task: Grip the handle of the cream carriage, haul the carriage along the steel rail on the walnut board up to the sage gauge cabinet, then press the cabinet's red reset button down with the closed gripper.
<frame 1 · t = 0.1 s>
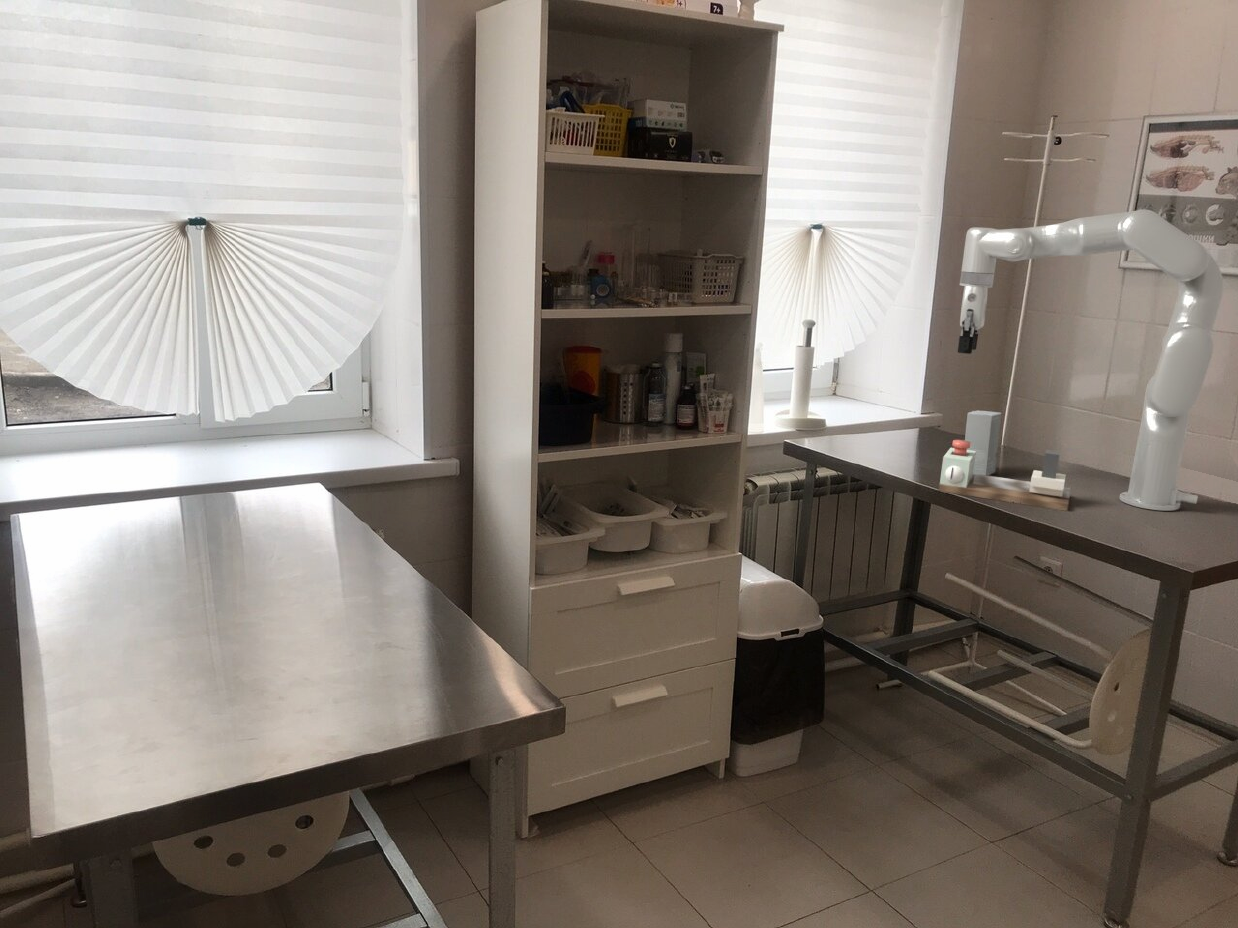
hand: (966, 351, 242), 31 cm above the table, tool pointing down, fingers open, 9 cm apart
skincare box: (977, 473, 253), on the table
walnut rail board: (1003, 493, 234), on the table
sage gauge cabinet: (955, 486, 238), resting on walnut rail board
cream carriage: (1049, 472, 228), point 7 cm above the table, slide at 0.0 cm
red reset button: (960, 448, 236), point 9 cm above the table, slide at 0.0 cm
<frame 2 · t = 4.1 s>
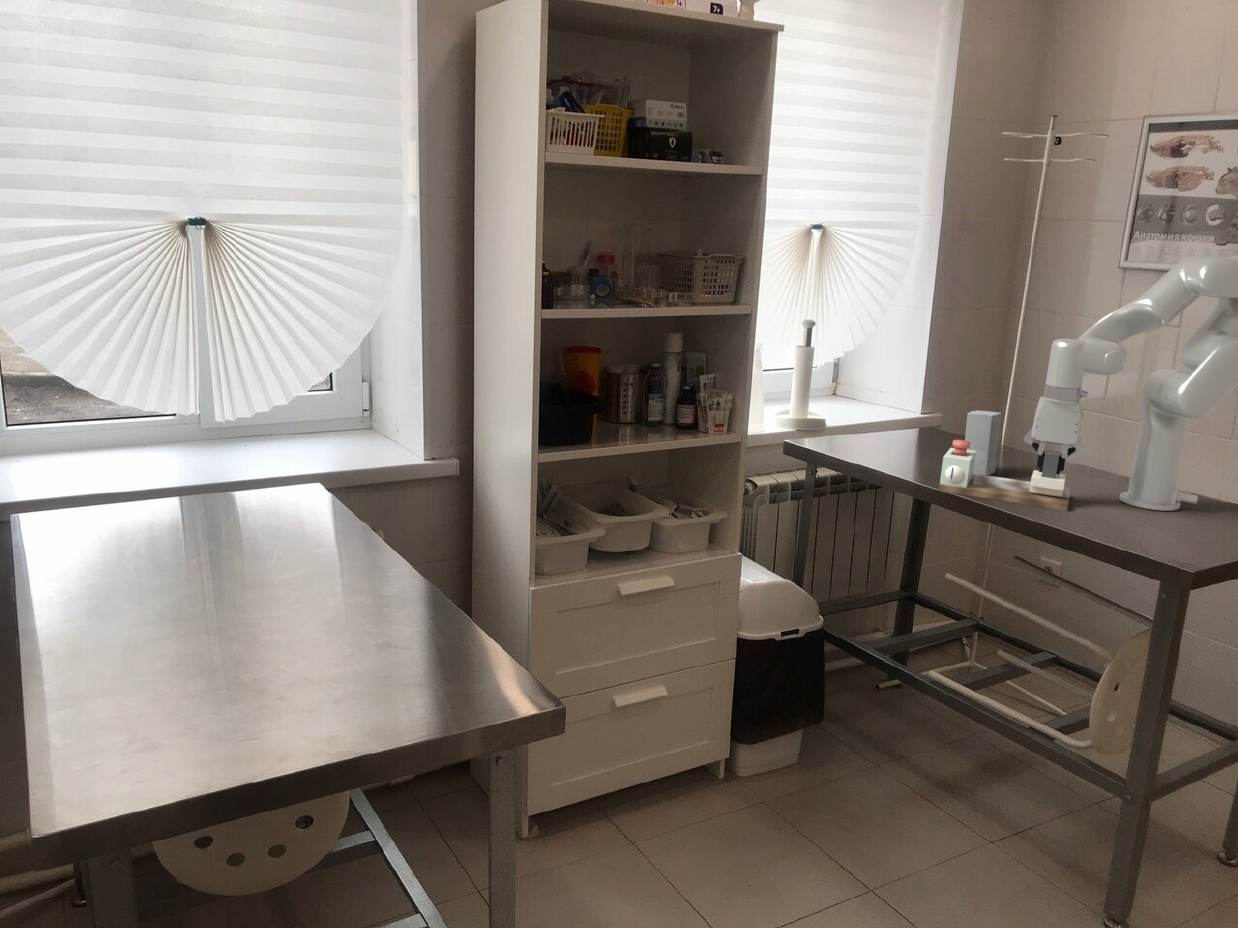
hand: (1049, 471, 228), 7 cm above the table, tool pointing down, fingers closed on cream carriage, 3 cm apart
cream carriage: (1049, 472, 228), point 7 cm above the table, slide at 0.0 cm, touching gripper
everything else where it was.
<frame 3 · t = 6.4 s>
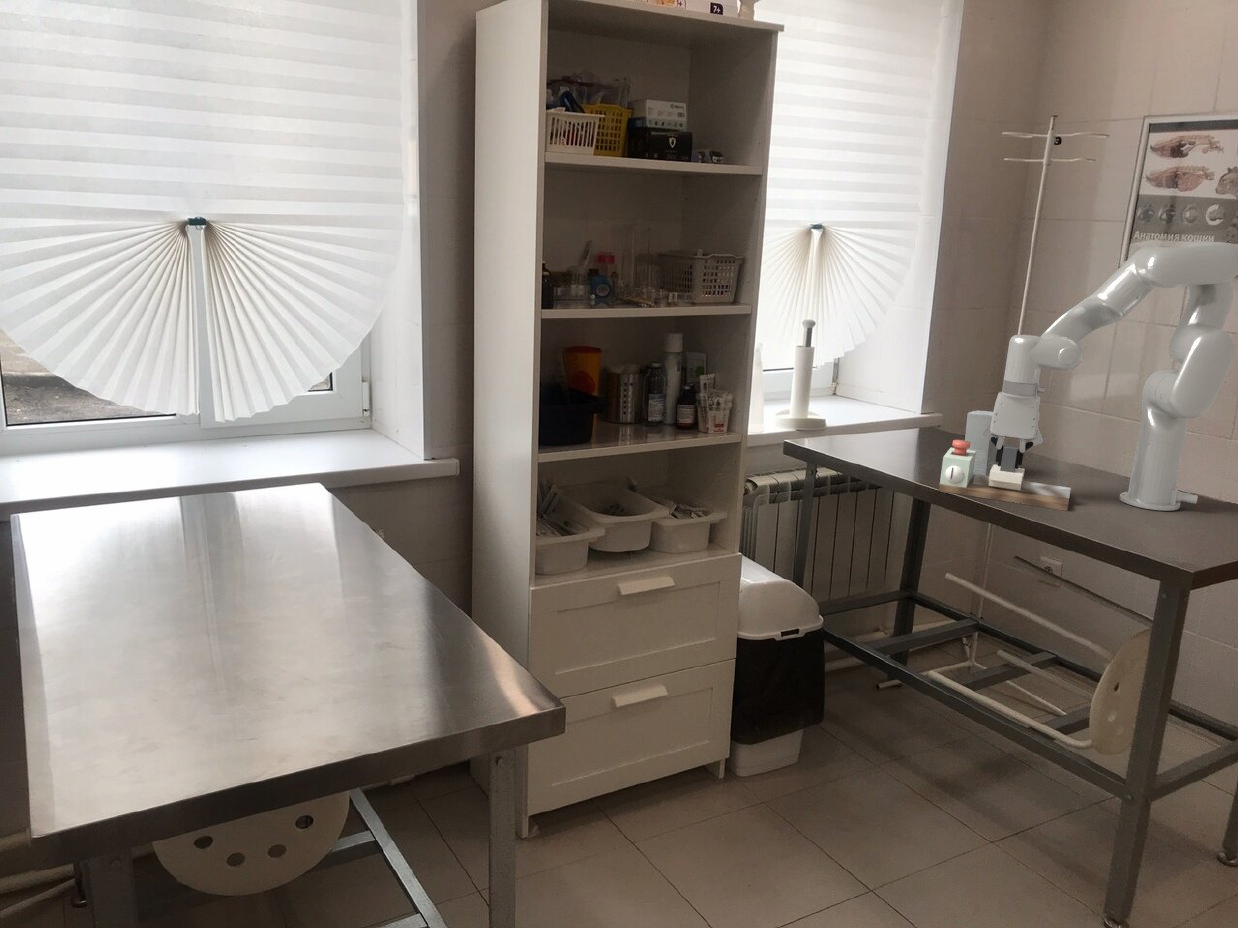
hand: (1008, 465, 232), 7 cm above the table, tool pointing down, fingers closed on cream carriage, 3 cm apart
cream carriage: (1008, 466, 232), point 7 cm above the table, slide at 9.0 cm, touching gripper
everything else where it was.
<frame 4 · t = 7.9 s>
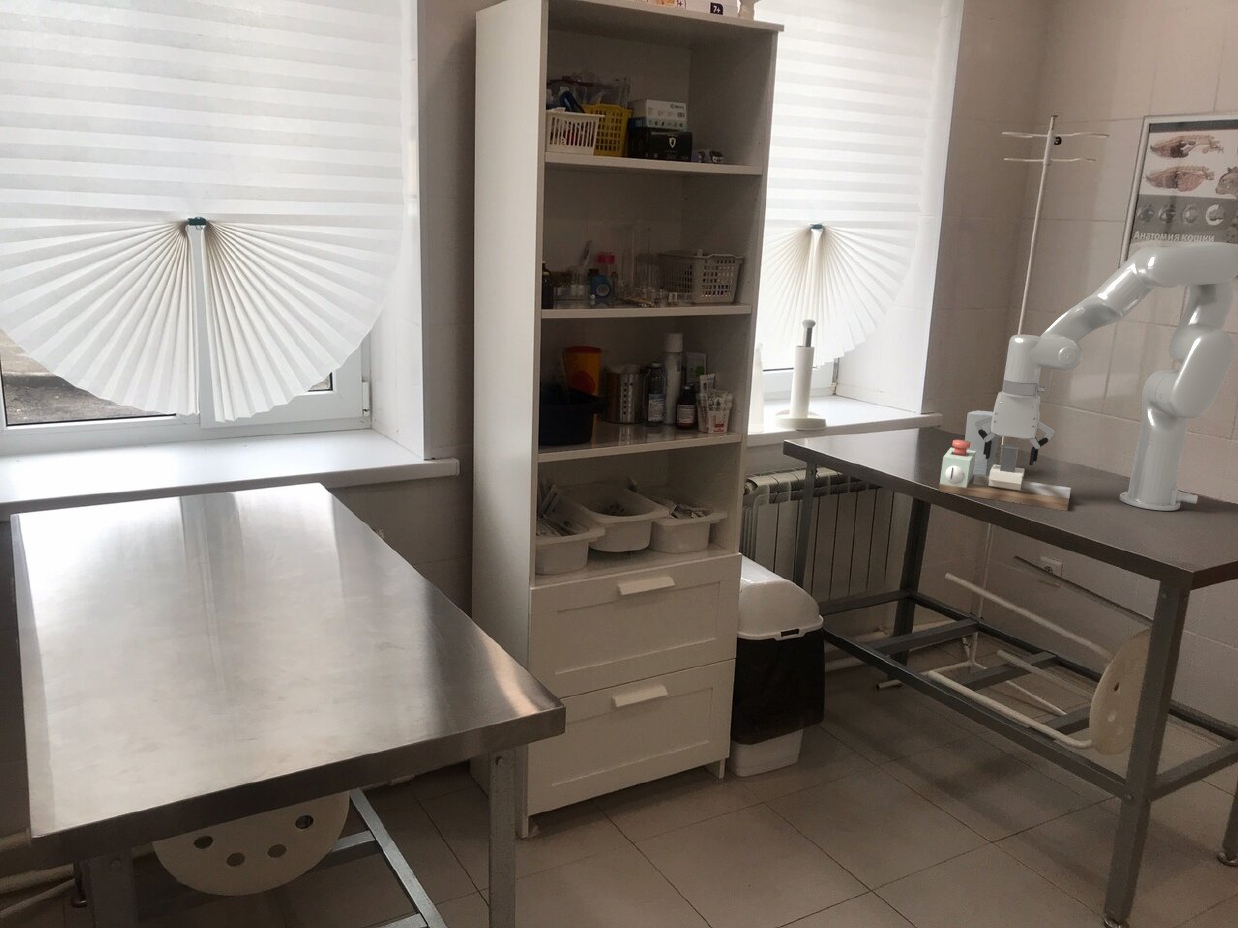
hand: (1009, 461, 232), 8 cm above the table, tool pointing down, fingers open, 9 cm apart
cream carriage: (1008, 466, 232), point 7 cm above the table, slide at 9.0 cm
everything else where it was.
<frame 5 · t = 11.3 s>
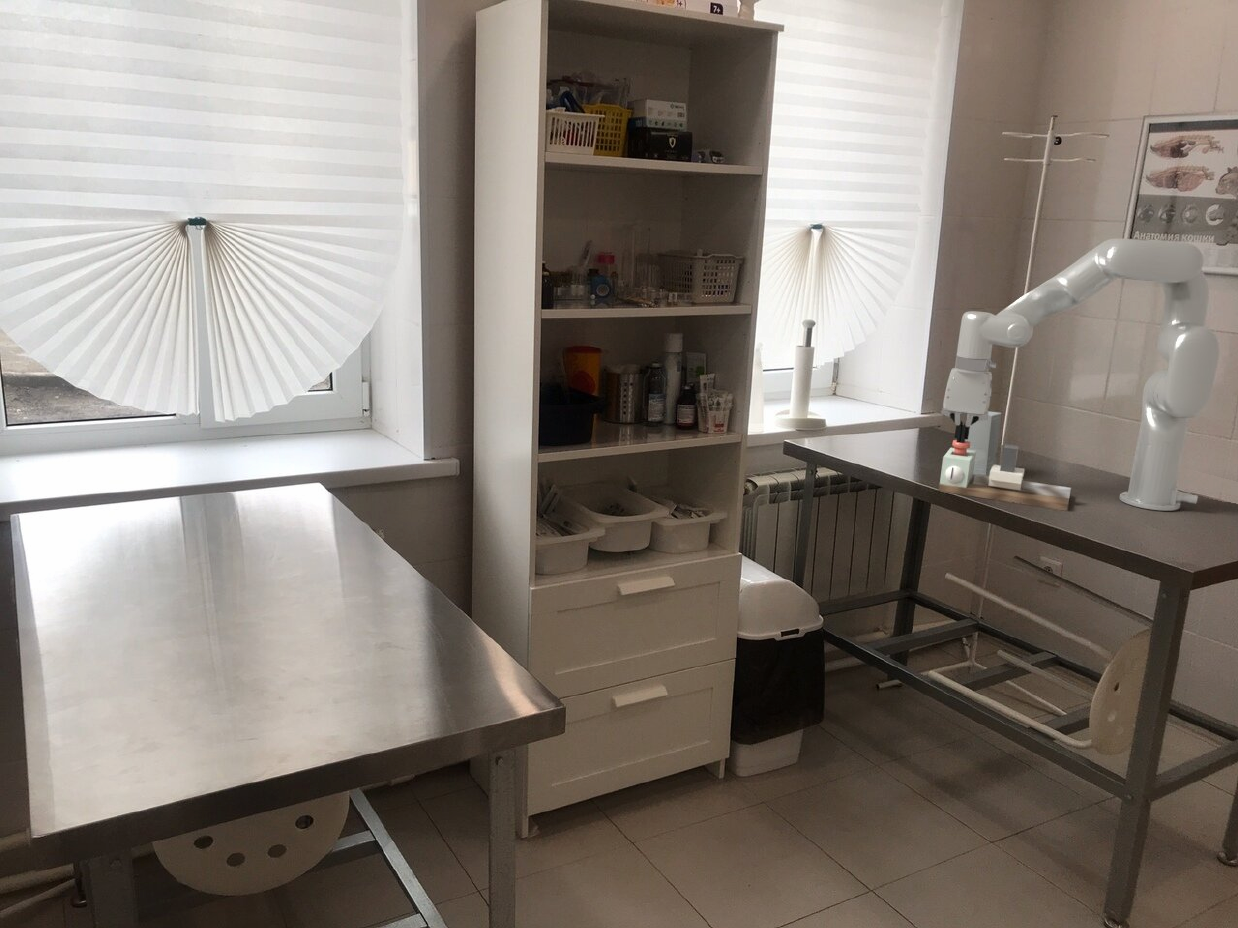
hand: (960, 441, 236), 11 cm above the table, tool pointing down, fingers closed
red reset button: (960, 448, 236), point 9 cm above the table, slide at 0.0 cm, touching gripper
everything else where it was.
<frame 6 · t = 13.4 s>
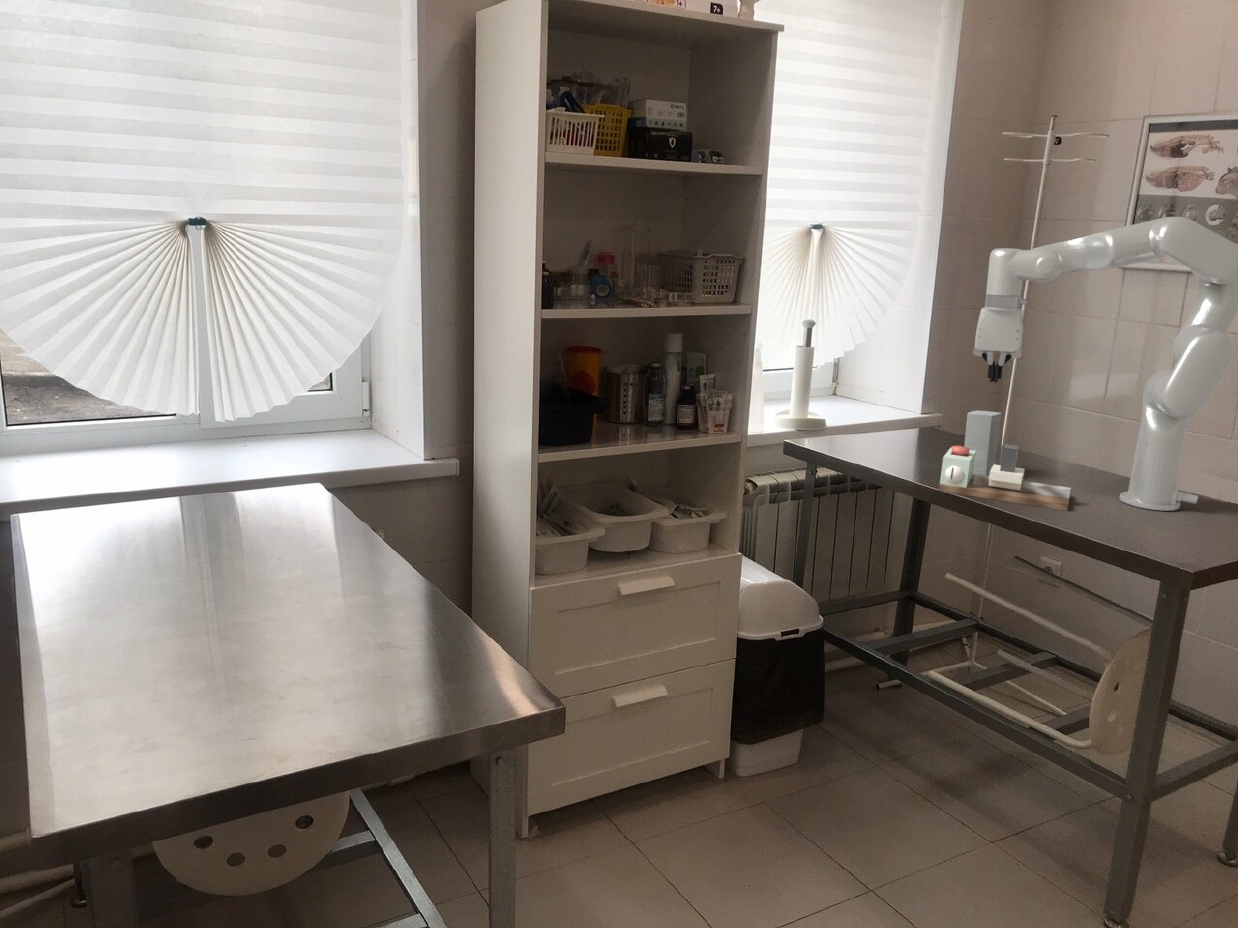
hand: (994, 381, 233), 26 cm above the table, tool pointing down, fingers closed
red reset button: (959, 454, 236), point 8 cm above the table, slide at 1.5 cm
everything else where it was.
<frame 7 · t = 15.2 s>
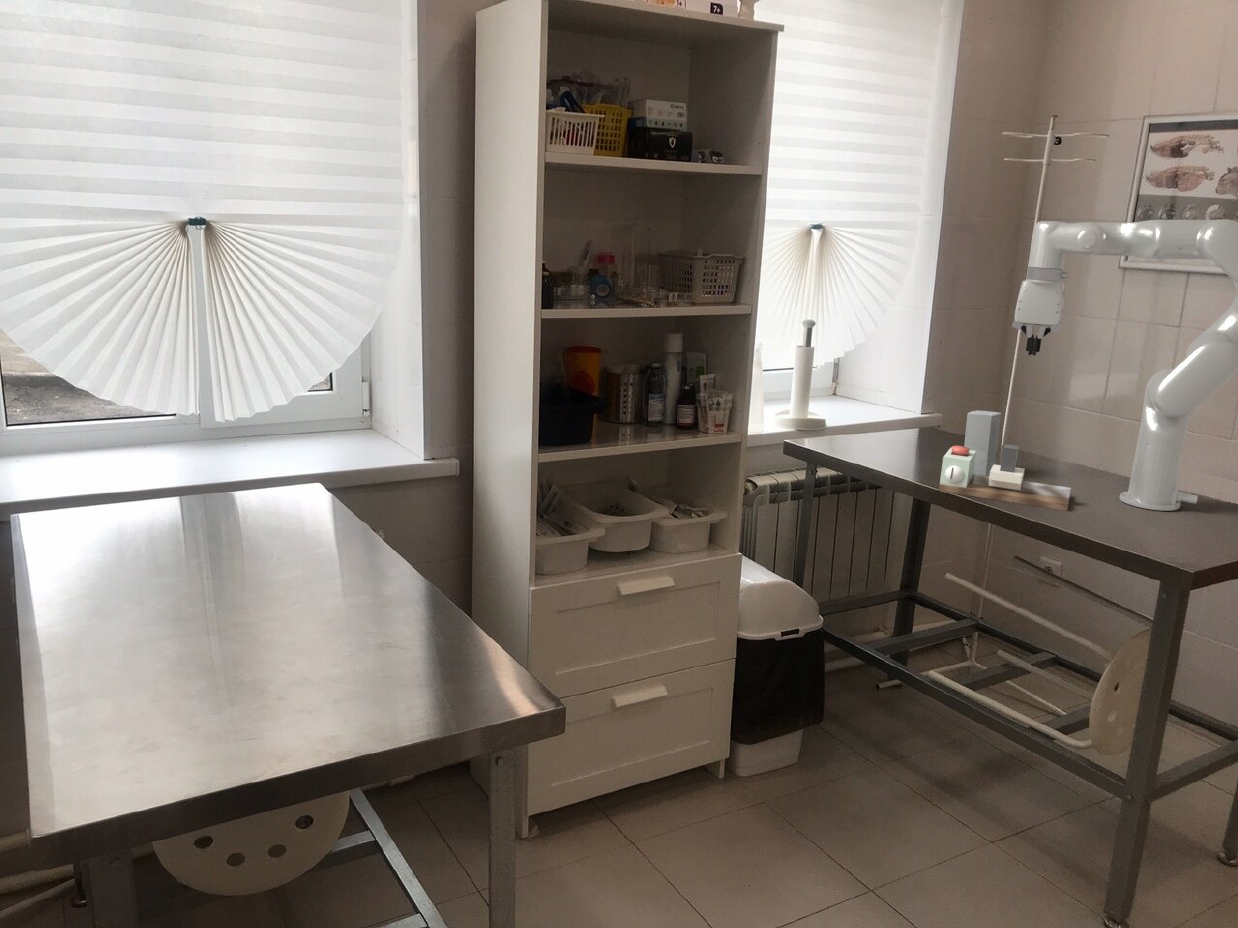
hand: (1032, 354, 234), 32 cm above the table, tool pointing down, fingers closed
nothing on the table moved.
at the end: cream carriage slide at 9.0 cm; red reset button slide at 1.5 cm; skincare box moved 0.2 cm from its start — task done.
